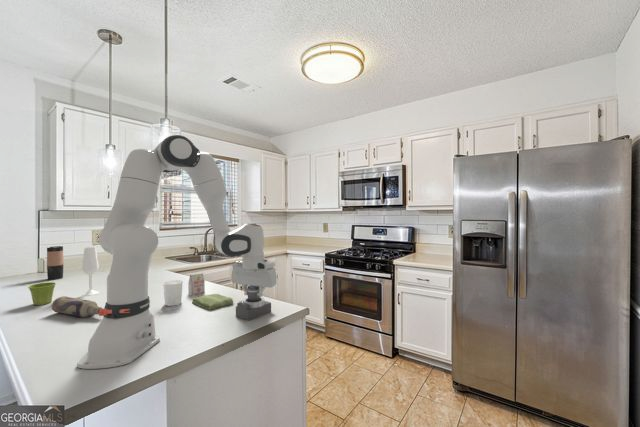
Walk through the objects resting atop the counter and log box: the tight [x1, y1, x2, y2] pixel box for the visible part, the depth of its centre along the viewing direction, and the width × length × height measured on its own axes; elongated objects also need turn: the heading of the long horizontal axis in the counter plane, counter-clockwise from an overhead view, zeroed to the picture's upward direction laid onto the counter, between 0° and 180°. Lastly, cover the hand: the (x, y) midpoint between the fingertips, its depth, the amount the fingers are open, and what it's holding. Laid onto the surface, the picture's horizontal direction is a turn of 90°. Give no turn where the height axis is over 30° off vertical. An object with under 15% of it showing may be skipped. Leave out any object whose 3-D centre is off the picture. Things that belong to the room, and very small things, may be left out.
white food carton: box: [187, 272, 206, 296], centre depth 150 cm, size 4×7×10 cm, turn 138°
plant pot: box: [27, 281, 57, 306], centre depth 134 cm, size 9×9×9 cm
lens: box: [247, 285, 260, 302], centre depth 120 cm, size 5×5×7 cm
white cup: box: [162, 279, 183, 307], centre depth 133 cm, size 8×8×10 cm
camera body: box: [235, 296, 272, 322], centre depth 120 cm, size 12×8×6 cm
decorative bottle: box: [51, 296, 104, 318], centre depth 119 cm, size 26×8×7 cm, turn 71°
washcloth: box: [191, 293, 234, 311], centre depth 134 cm, size 13×18×3 cm
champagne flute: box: [81, 246, 100, 297], centre depth 149 cm, size 7×7×24 cm
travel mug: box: [46, 245, 64, 281], centre depth 182 cm, size 8×8×20 cm
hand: (253, 295), depth 120 cm, fingers closed on lens, 5 cm apart
